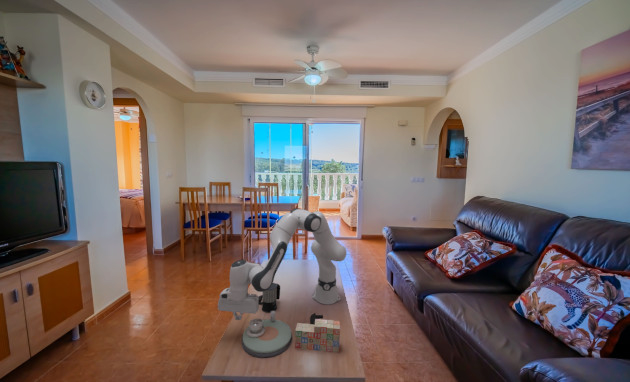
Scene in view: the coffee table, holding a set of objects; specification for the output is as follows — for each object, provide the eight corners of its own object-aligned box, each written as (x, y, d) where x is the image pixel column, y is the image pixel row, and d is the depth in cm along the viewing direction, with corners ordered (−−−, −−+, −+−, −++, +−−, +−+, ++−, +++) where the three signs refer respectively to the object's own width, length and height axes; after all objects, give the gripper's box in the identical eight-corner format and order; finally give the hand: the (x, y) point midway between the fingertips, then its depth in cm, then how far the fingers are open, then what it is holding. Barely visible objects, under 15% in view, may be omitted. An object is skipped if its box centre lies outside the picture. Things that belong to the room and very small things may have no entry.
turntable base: (251, 322, 142) (251, 319, 142) (295, 326, 140) (295, 323, 140) (233, 355, 117) (233, 352, 117) (286, 360, 115) (287, 357, 115)
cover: (250, 326, 134) (250, 315, 133) (267, 327, 133) (267, 316, 132) (244, 337, 125) (244, 325, 124) (262, 338, 124) (262, 327, 124)
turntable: (252, 320, 141) (252, 308, 141) (294, 323, 139) (295, 312, 139) (234, 350, 118) (235, 337, 117) (286, 355, 116) (286, 342, 115)
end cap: (309, 324, 143) (310, 312, 142) (322, 324, 143) (322, 312, 142) (310, 336, 133) (310, 323, 132) (323, 336, 133) (324, 323, 132)
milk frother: (273, 314, 151) (274, 290, 150) (249, 310, 154) (249, 286, 153) (281, 301, 165) (282, 279, 163) (258, 298, 168) (259, 276, 167)
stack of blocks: (294, 348, 123) (295, 324, 122) (296, 339, 129) (297, 316, 128) (338, 353, 121) (340, 328, 120) (339, 344, 127) (340, 320, 126)
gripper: (260, 291, 130) (260, 317, 131) (222, 288, 132) (221, 314, 133) (256, 297, 124) (256, 324, 125) (216, 294, 125) (216, 321, 127)
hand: (238, 319), depth 129 cm, fingers closed
